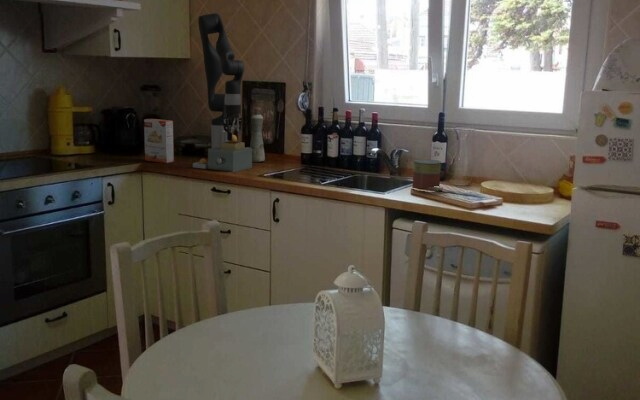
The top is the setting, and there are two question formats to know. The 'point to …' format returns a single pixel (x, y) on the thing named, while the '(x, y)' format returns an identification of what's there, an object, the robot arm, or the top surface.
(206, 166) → the bead dish
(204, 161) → the bead
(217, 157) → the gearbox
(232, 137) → the bead
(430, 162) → the canned food
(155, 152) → the cracker box
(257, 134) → the bottle
